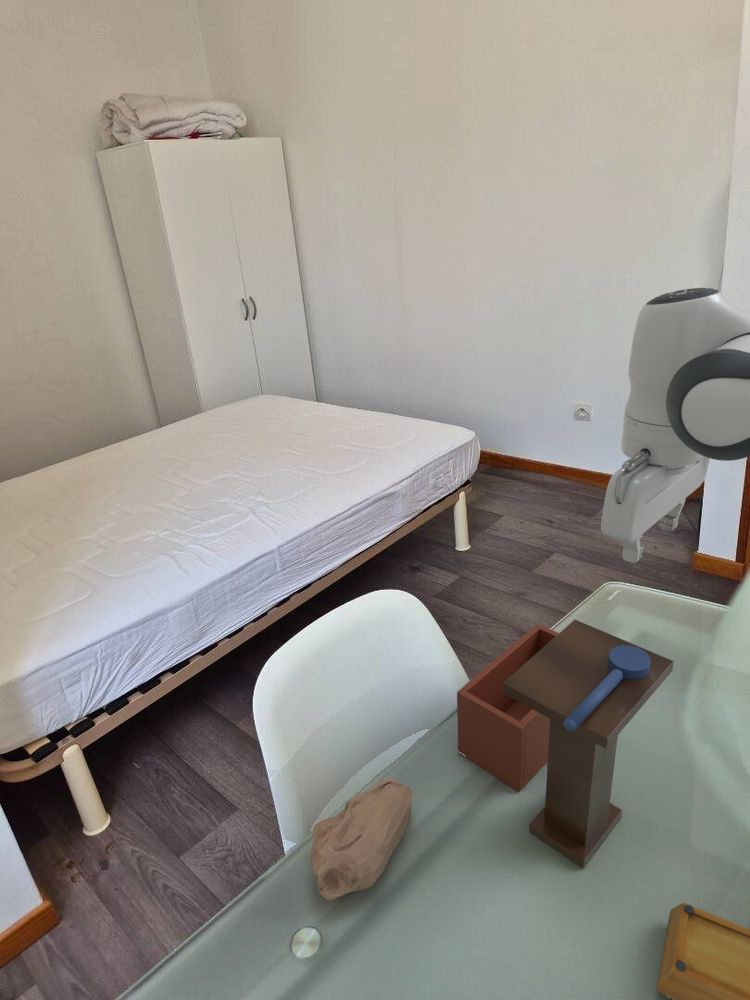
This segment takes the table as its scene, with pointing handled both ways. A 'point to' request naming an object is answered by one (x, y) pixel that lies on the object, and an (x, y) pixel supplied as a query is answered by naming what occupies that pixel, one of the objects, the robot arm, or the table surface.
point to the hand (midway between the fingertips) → (650, 543)
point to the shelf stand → (580, 734)
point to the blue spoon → (612, 680)
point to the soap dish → (704, 957)
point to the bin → (504, 717)
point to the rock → (360, 839)
